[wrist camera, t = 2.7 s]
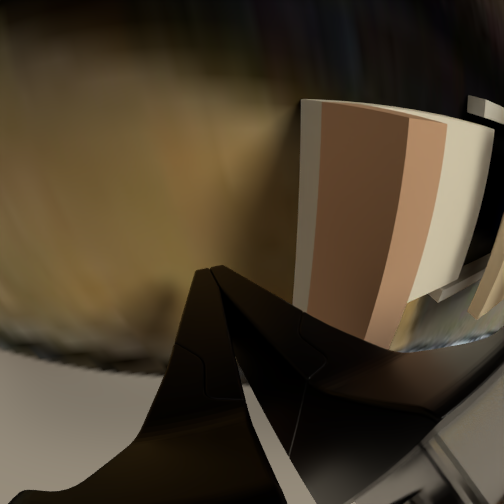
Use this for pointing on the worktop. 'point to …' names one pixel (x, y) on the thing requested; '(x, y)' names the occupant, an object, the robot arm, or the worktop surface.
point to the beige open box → (491, 265)
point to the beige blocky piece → (383, 210)
